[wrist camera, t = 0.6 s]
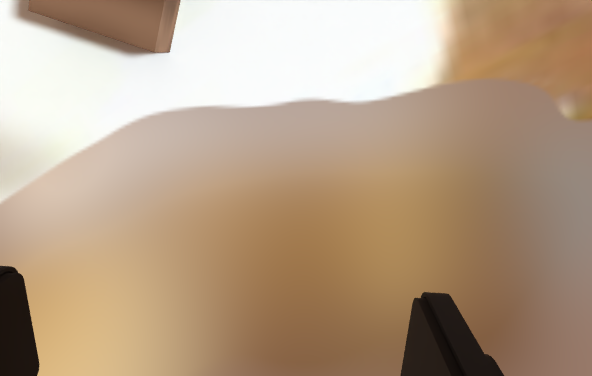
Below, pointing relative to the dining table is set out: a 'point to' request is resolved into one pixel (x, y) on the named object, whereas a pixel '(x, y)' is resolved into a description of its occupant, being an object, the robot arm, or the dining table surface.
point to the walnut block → (118, 19)
